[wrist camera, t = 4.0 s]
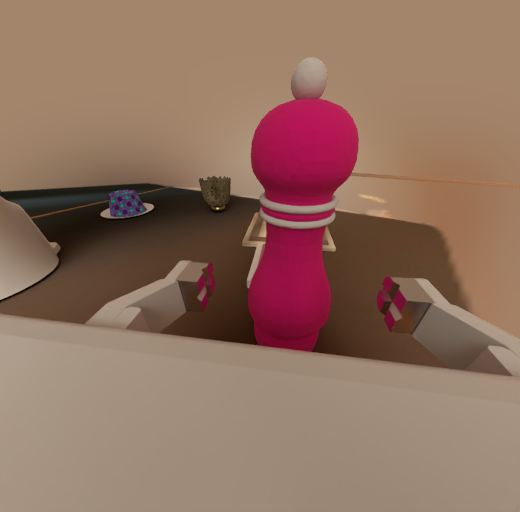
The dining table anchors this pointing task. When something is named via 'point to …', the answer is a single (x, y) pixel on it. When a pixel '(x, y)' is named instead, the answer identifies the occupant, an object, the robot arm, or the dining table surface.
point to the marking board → (258, 234)
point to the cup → (216, 192)
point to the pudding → (125, 205)
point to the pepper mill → (298, 208)
